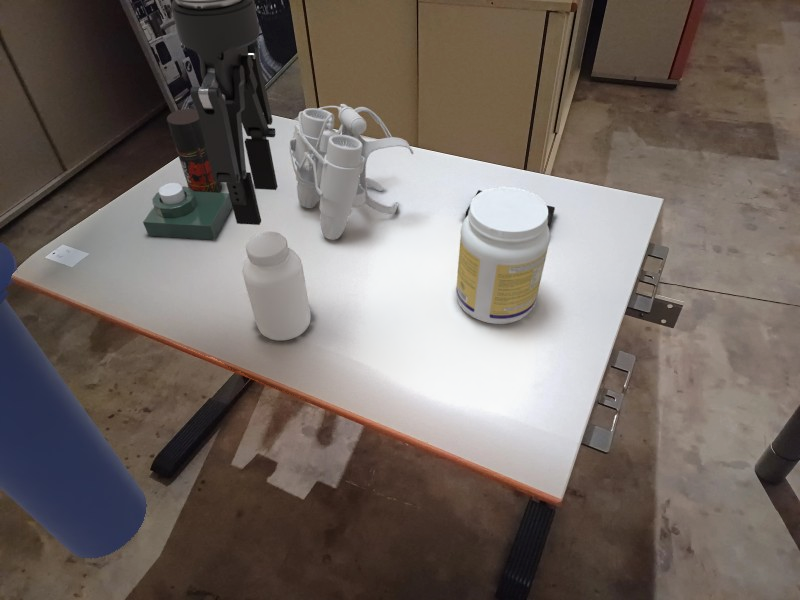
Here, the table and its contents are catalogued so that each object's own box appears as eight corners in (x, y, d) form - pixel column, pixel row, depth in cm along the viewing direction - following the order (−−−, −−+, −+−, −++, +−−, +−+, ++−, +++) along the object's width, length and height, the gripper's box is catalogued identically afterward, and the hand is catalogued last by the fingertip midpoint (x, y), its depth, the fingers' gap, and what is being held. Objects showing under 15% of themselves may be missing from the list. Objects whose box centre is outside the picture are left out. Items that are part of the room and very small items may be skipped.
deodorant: (183, 194, 106) (159, 120, 95) (203, 178, 109) (181, 106, 99) (209, 201, 104) (187, 127, 93) (228, 185, 108) (208, 112, 97)
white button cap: (158, 205, 95) (154, 195, 94) (167, 192, 98) (164, 182, 97) (180, 206, 95) (177, 196, 93) (189, 193, 98) (186, 183, 96)
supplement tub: (543, 284, 87) (565, 193, 75) (523, 337, 79) (544, 245, 67) (469, 264, 90) (478, 175, 79) (443, 313, 83) (450, 222, 71)
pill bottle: (249, 339, 79) (226, 260, 69) (267, 300, 85) (247, 221, 74) (303, 345, 78) (287, 265, 68) (317, 305, 84) (305, 226, 73)
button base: (148, 236, 96) (138, 212, 93) (171, 203, 104) (162, 180, 100) (214, 240, 96) (207, 216, 92) (233, 206, 103) (226, 183, 99)
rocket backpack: (410, 235, 101) (436, 131, 89) (315, 247, 92) (331, 132, 80) (367, 189, 112) (385, 90, 100) (278, 195, 103) (287, 87, 91)
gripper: (214, 34, 43) (266, 258, 60) (278, -33, 57) (306, 163, 73) (123, 32, 44) (199, 254, 60) (208, -35, 58) (251, 161, 74)
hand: (258, 204), depth 67 cm, fingers open, 7 cm apart
